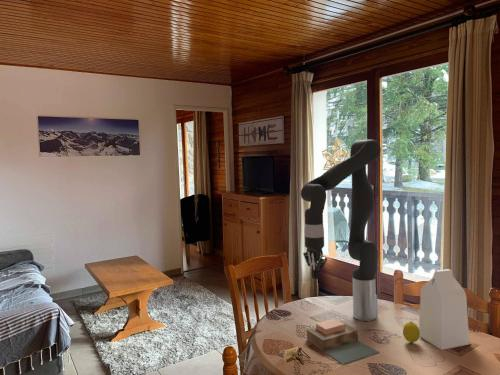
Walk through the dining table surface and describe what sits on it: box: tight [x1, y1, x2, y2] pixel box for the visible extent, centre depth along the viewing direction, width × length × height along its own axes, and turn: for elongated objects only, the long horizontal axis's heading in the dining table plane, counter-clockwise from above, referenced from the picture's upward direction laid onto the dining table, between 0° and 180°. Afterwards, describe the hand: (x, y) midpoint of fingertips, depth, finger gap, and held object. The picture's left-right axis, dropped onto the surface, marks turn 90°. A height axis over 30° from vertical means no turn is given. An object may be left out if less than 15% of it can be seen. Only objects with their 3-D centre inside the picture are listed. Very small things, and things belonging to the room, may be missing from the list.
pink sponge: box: [315, 318, 345, 335], centre depth 143 cm, size 9×6×2 cm, turn 116°
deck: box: [306, 320, 359, 352], centre depth 142 cm, size 16×10×4 cm, turn 116°
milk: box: [418, 268, 470, 351], centre depth 139 cm, size 12×12×26 cm
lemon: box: [402, 321, 420, 344], centre depth 138 cm, size 6×6×8 cm
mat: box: [323, 339, 380, 365], centre depth 133 cm, size 16×10×1 cm, turn 116°
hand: (315, 278), depth 150 cm, fingers closed
